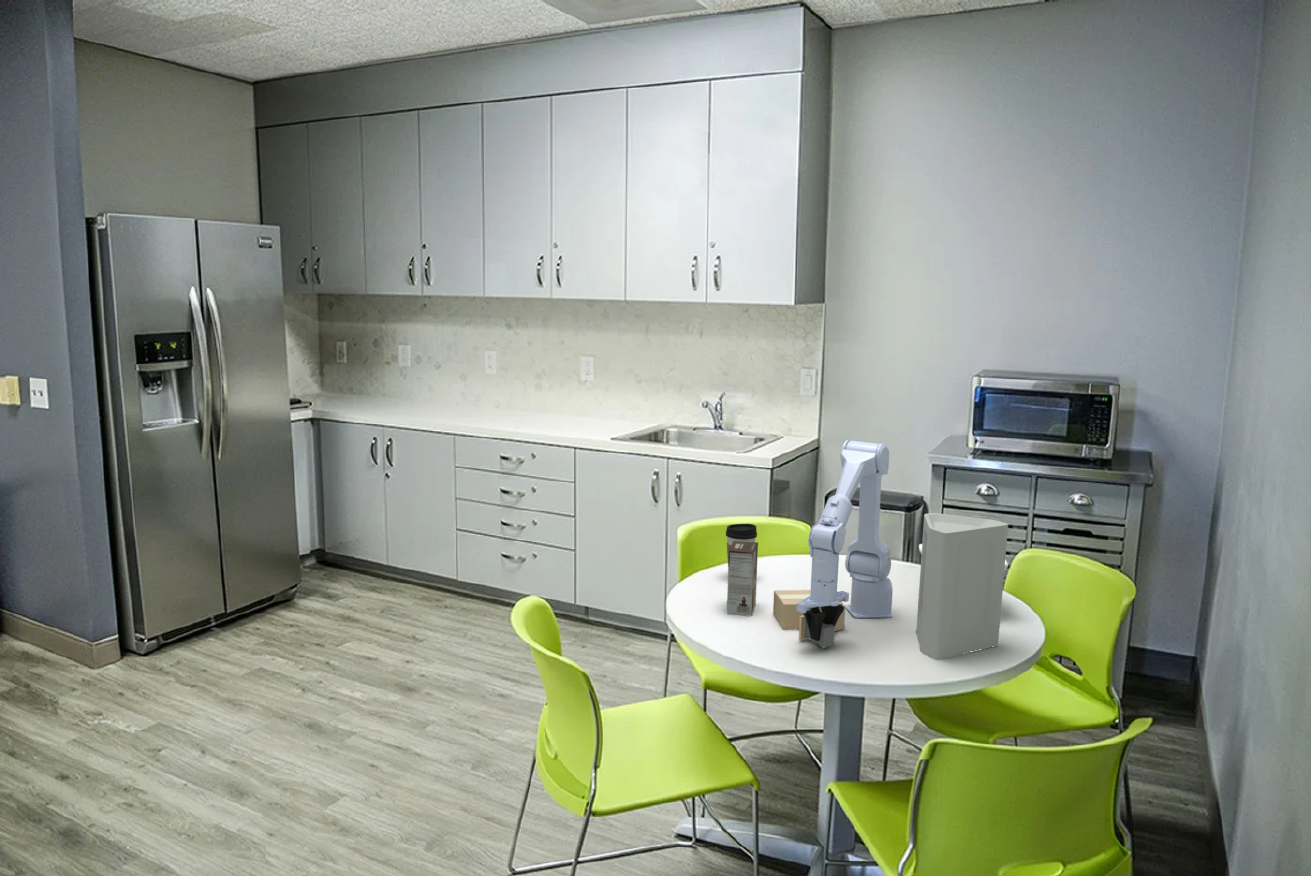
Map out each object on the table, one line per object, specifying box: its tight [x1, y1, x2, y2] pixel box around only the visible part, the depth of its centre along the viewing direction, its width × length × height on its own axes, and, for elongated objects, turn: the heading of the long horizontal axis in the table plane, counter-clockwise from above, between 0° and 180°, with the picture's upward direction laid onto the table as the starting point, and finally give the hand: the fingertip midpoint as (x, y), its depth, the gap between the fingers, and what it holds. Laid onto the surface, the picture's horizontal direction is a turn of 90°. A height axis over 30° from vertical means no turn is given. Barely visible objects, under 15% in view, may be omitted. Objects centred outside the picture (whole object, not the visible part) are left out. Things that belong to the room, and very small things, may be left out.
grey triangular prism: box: [915, 512, 1009, 660], centre depth 207 cm, size 19×15×28 cm
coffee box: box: [726, 541, 759, 617], centre depth 227 cm, size 9×6×16 cm
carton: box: [772, 589, 844, 630], centre depth 220 cm, size 14×10×6 cm
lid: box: [798, 604, 846, 649], centre depth 208 cm, size 14×7×6 cm, turn 126°
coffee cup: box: [725, 523, 758, 562], centre depth 250 cm, size 8×8×15 cm
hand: (821, 637), depth 205 cm, fingers open, 3 cm apart
